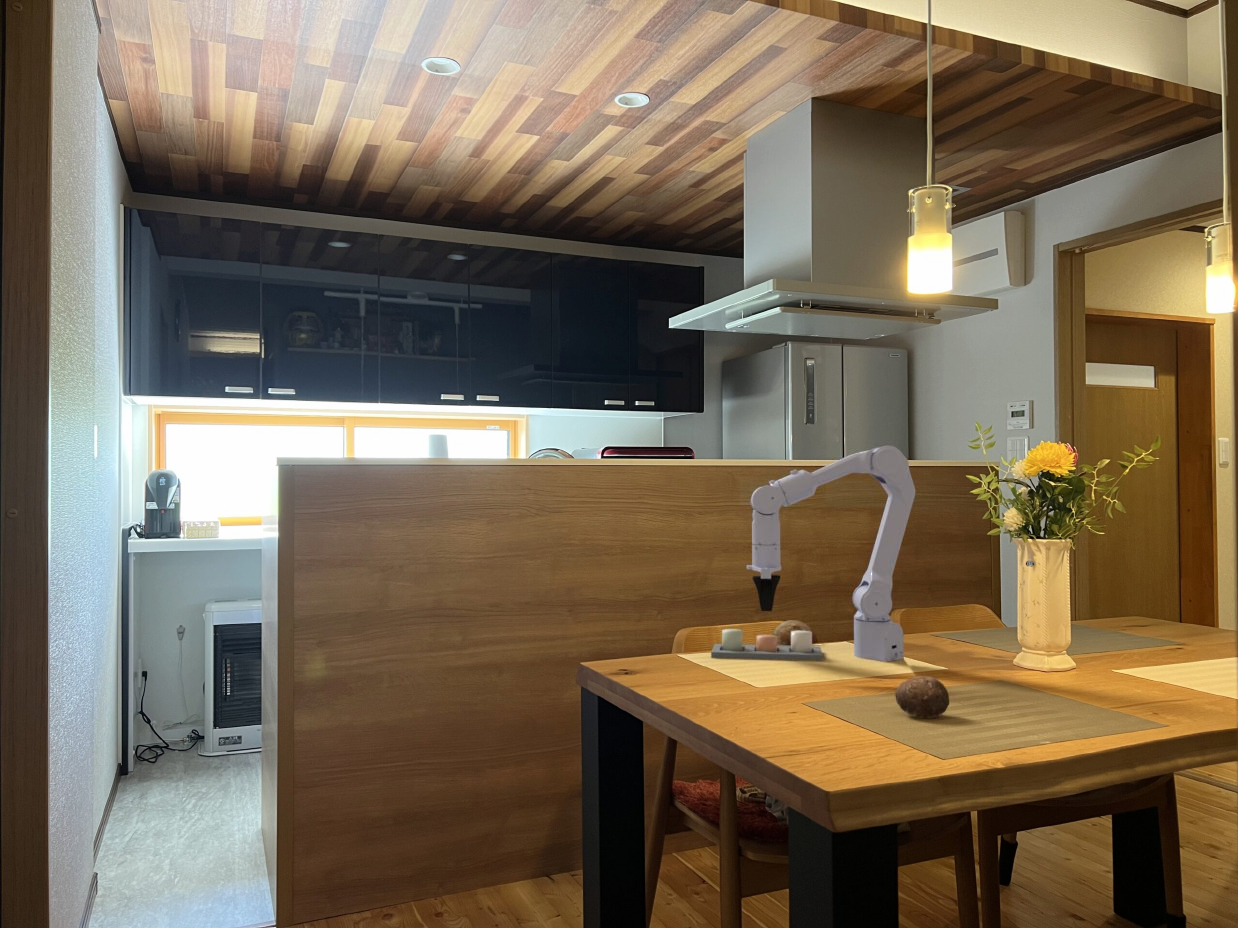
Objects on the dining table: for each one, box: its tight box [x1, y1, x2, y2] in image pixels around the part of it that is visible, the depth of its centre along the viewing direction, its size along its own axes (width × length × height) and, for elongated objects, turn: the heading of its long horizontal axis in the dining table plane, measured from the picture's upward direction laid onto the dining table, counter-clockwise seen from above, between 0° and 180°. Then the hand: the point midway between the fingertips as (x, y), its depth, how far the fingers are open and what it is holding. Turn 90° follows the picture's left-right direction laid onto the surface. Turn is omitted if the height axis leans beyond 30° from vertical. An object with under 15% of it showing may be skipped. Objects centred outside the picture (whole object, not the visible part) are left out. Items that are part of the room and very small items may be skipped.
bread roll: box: [772, 619, 819, 646], centre depth 209 cm, size 10×10×8 cm
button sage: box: [721, 628, 744, 651], centre depth 194 cm, size 4×4×5 cm
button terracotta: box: [755, 634, 778, 652], centre depth 192 cm, size 4×4×5 cm
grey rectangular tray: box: [710, 643, 824, 662], centre depth 192 cm, size 22×10×2 cm, turn 80°
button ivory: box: [790, 631, 813, 653], centre depth 191 cm, size 4×4×5 cm
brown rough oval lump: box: [894, 675, 950, 719], centre depth 148 cm, size 8×8×6 cm
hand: (766, 610), depth 193 cm, fingers closed
